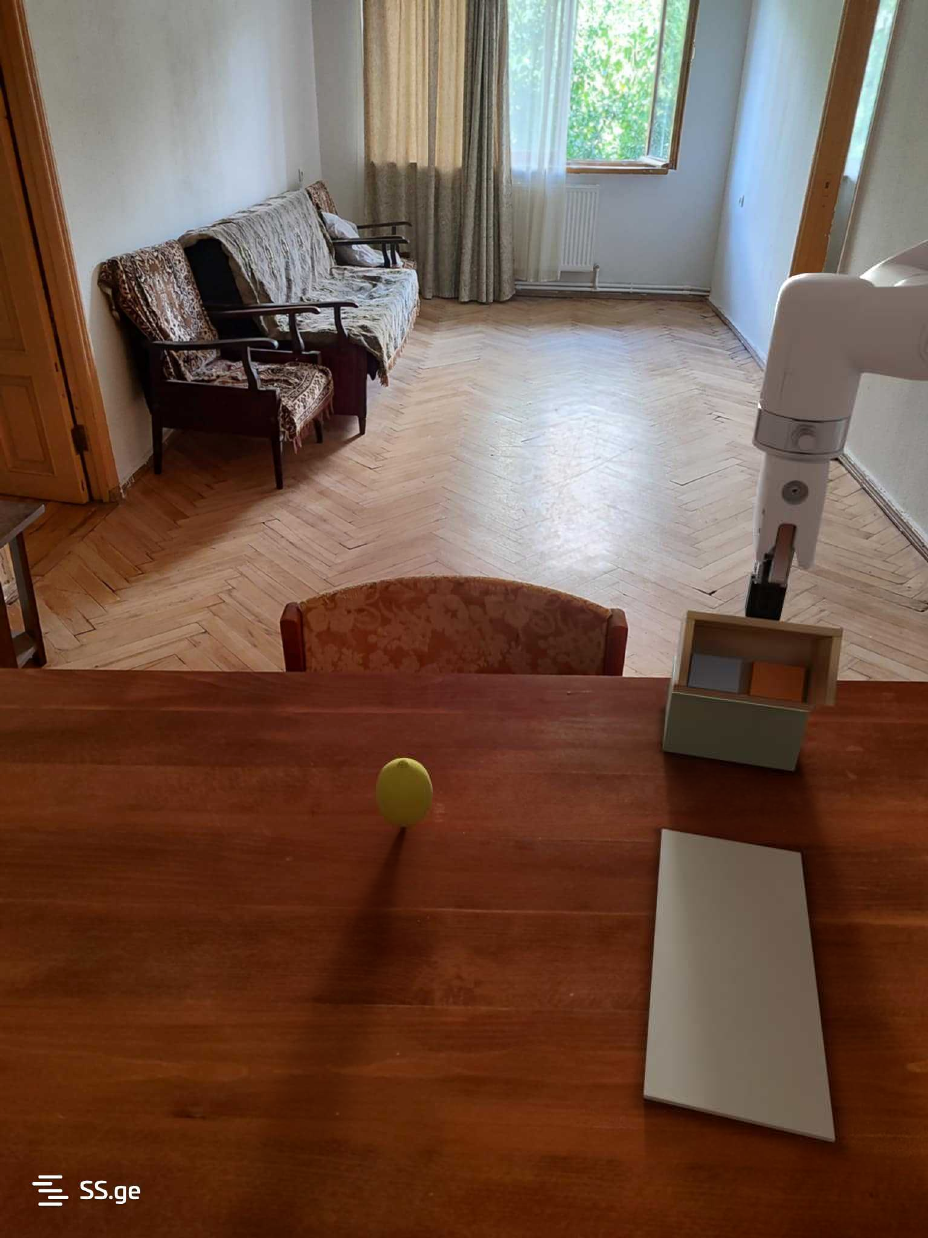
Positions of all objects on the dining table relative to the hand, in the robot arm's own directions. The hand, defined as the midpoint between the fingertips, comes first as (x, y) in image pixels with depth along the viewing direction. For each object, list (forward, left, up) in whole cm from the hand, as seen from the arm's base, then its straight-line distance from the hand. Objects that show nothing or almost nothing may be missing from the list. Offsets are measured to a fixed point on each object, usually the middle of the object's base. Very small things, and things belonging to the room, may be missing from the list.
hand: (761, 616), depth 84 cm
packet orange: (-5, +1, -9) cm, 10 cm away
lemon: (+29, -20, -20) cm, 40 cm away
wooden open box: (-4, -3, -9) cm, 10 cm away
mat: (+21, +12, -20) cm, 31 cm away
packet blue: (-2, -5, -9) cm, 10 cm away
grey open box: (-6, -4, -20) cm, 21 cm away
